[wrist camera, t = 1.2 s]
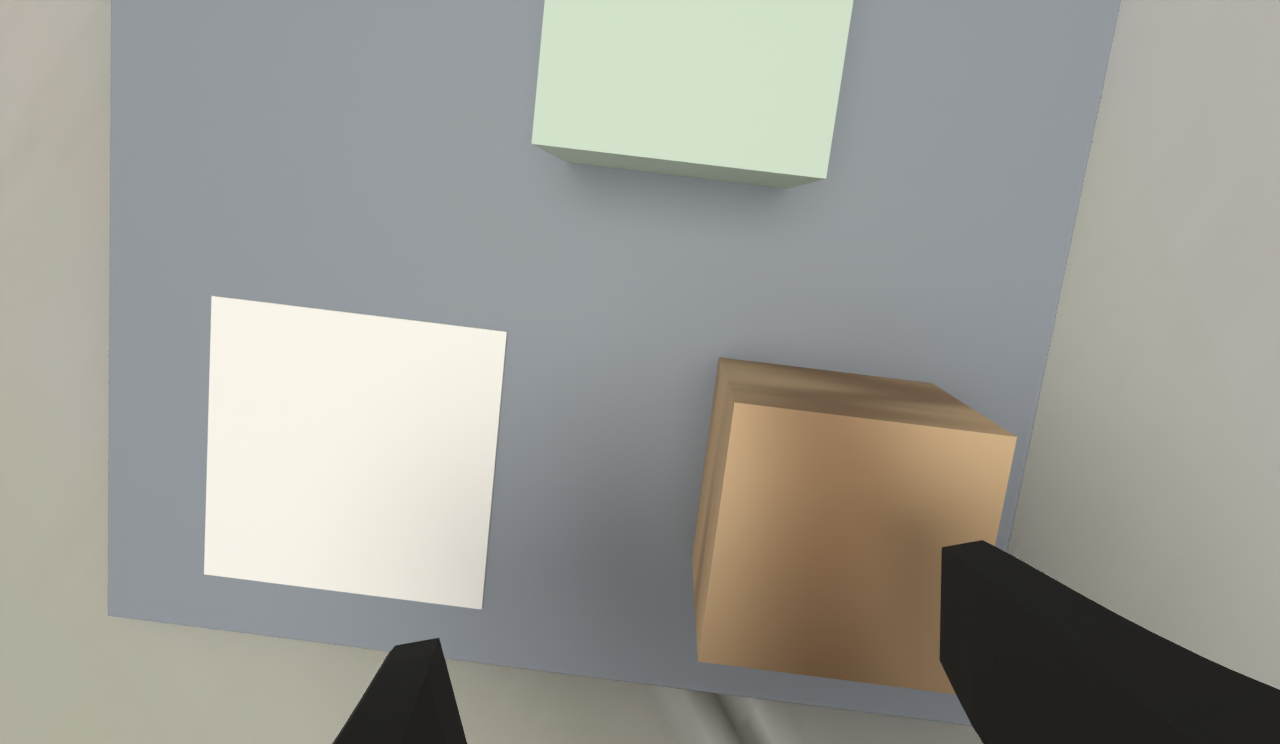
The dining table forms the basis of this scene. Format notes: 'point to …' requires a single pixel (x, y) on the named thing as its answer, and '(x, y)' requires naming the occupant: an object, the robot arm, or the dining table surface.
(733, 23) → the green block
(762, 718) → the dining table surface
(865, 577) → the oak block
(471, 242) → the grey mat
